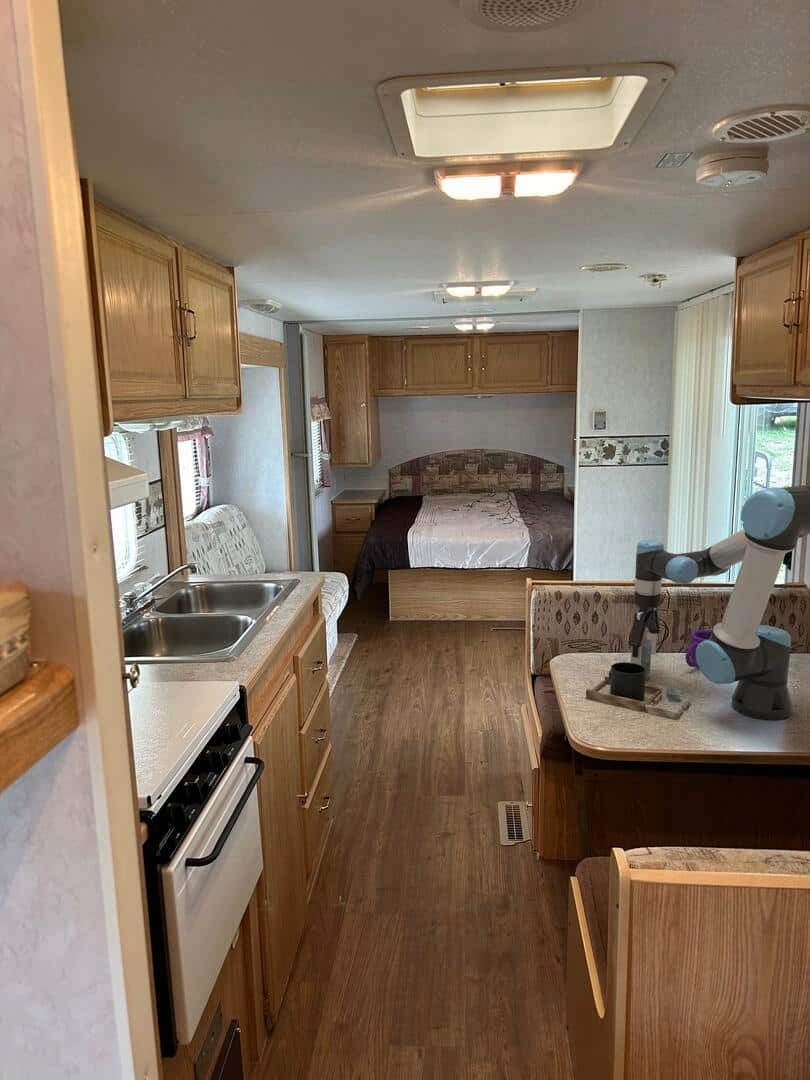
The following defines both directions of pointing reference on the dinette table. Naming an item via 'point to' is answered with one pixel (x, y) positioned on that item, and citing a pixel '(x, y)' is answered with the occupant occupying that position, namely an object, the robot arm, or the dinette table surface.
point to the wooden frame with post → (628, 702)
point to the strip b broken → (672, 696)
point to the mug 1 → (627, 680)
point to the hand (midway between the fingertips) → (643, 660)
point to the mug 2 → (696, 645)
